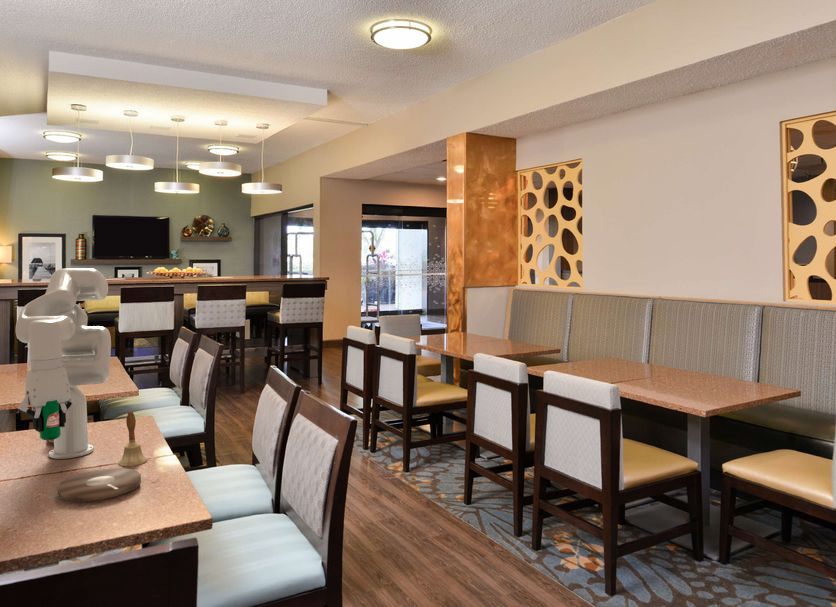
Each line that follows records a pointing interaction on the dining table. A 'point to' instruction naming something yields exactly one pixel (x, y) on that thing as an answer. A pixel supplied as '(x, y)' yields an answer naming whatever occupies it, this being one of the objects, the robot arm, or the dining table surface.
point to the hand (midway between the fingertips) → (50, 427)
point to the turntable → (99, 484)
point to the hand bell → (132, 446)
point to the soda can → (50, 420)
